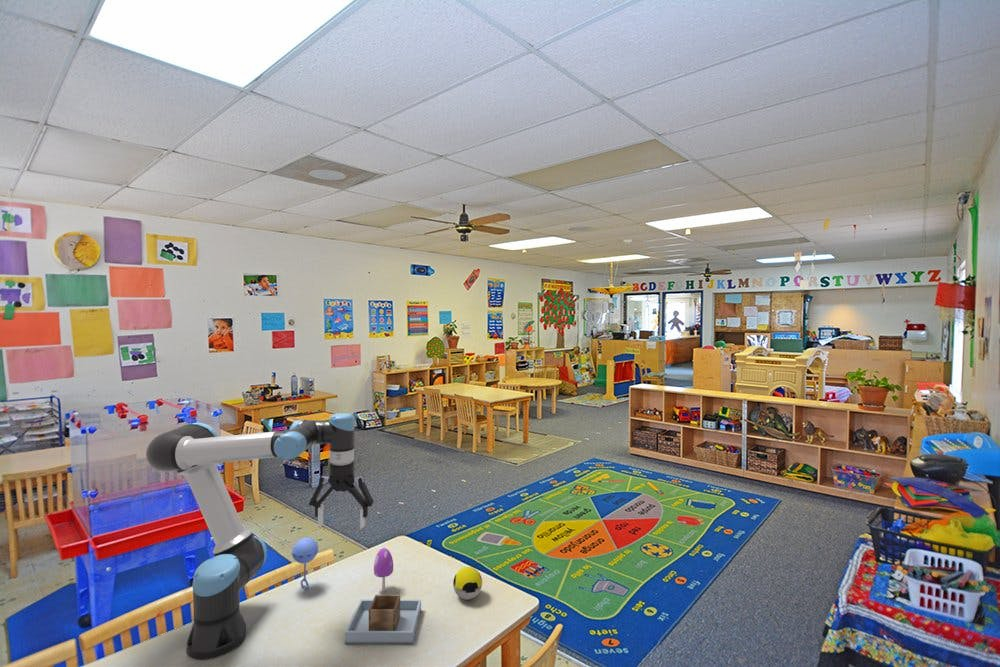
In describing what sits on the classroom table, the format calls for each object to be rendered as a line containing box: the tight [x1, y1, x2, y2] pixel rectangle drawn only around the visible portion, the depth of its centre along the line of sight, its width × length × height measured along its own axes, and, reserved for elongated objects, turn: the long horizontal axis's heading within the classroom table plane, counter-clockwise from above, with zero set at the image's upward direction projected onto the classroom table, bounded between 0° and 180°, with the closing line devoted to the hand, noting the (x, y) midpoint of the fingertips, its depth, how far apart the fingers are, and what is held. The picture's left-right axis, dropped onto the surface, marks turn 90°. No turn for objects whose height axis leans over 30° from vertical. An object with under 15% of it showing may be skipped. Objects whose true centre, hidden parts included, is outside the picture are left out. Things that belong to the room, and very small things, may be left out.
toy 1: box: [373, 547, 394, 592], centre depth 163 cm, size 7×7×15 cm
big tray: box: [344, 599, 422, 645], centre depth 145 cm, size 20×16×4 cm
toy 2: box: [452, 566, 483, 601], centre depth 160 cm, size 10×10×10 cm
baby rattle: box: [291, 537, 319, 590], centre depth 164 cm, size 9×9×18 cm
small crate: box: [369, 594, 401, 631], centre depth 145 cm, size 8×8×7 cm
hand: (341, 526), depth 150 cm, fingers open, 13 cm apart
